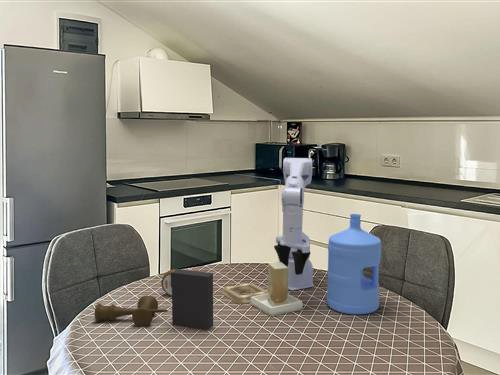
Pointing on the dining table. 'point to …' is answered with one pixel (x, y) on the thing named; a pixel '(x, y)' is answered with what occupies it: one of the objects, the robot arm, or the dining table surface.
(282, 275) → the skincare box
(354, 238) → the water jug
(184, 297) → the black upright block
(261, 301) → the tray
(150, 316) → the kendama
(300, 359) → the dining table surface
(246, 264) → the dining table surface
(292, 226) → the robot arm
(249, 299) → the wooden square frame
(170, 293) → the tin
